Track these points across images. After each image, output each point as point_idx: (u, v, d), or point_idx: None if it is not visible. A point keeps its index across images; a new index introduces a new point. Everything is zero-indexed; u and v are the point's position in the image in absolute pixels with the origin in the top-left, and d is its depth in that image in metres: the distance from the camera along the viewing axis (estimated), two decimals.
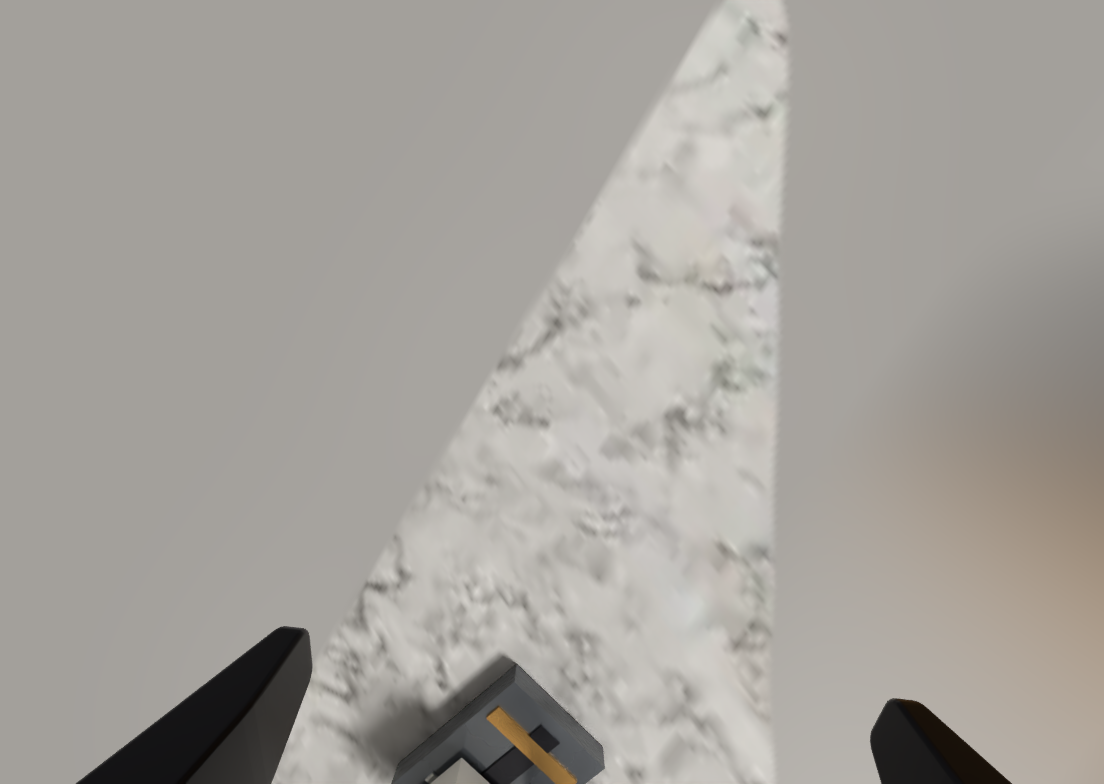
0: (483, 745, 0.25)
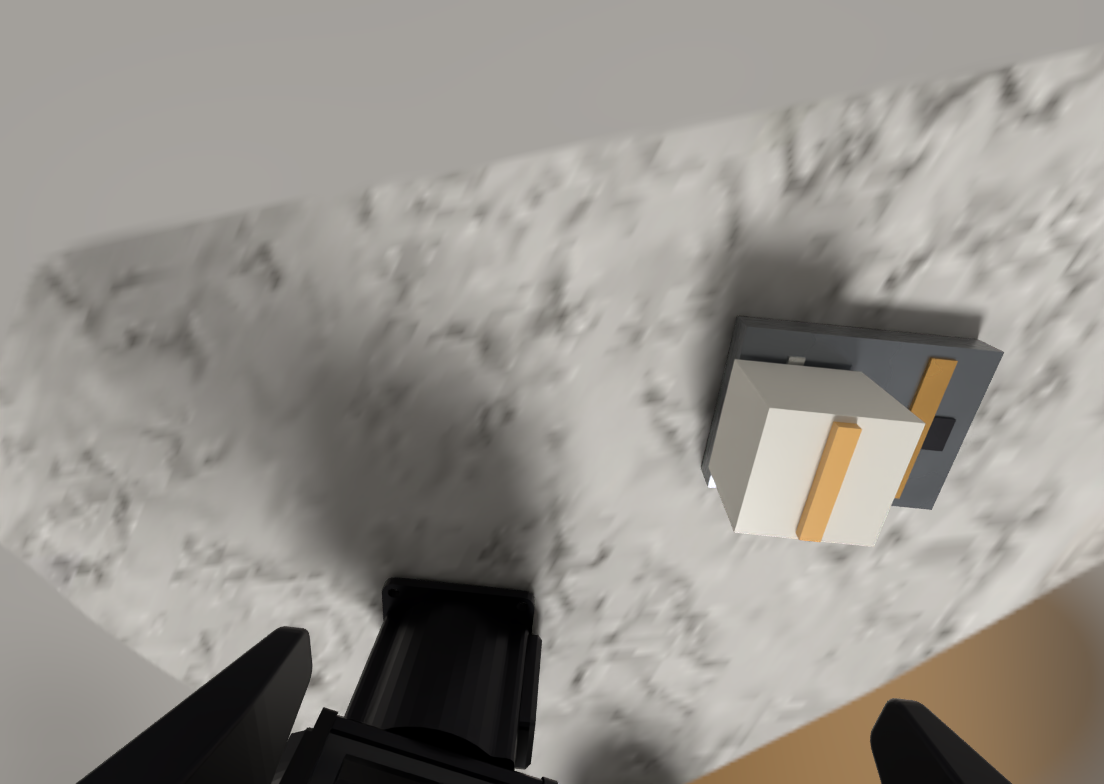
0: (882, 382, 0.18)
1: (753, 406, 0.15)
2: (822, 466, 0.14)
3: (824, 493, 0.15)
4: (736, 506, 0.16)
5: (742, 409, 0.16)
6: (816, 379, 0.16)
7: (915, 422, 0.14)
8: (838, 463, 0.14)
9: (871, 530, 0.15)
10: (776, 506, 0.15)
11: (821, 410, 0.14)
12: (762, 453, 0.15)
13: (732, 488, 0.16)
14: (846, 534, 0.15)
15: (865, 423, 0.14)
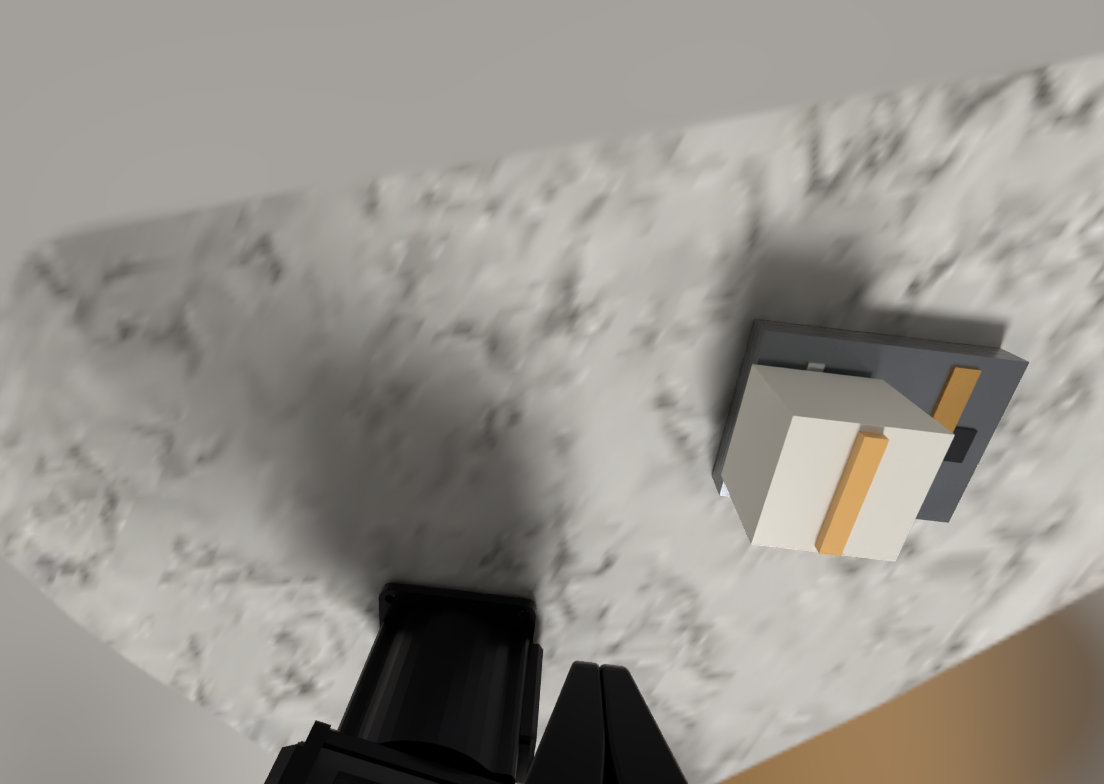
0: (903, 391, 0.17)
1: (773, 414, 0.15)
2: (846, 477, 0.14)
3: (847, 505, 0.14)
4: (753, 517, 0.15)
5: (761, 416, 0.15)
6: (837, 386, 0.16)
7: (944, 433, 0.13)
8: (863, 475, 0.14)
9: (893, 544, 0.15)
10: (796, 518, 0.15)
11: (847, 419, 0.14)
12: (784, 463, 0.14)
13: (749, 498, 0.16)
14: (867, 548, 0.15)
15: (892, 433, 0.13)
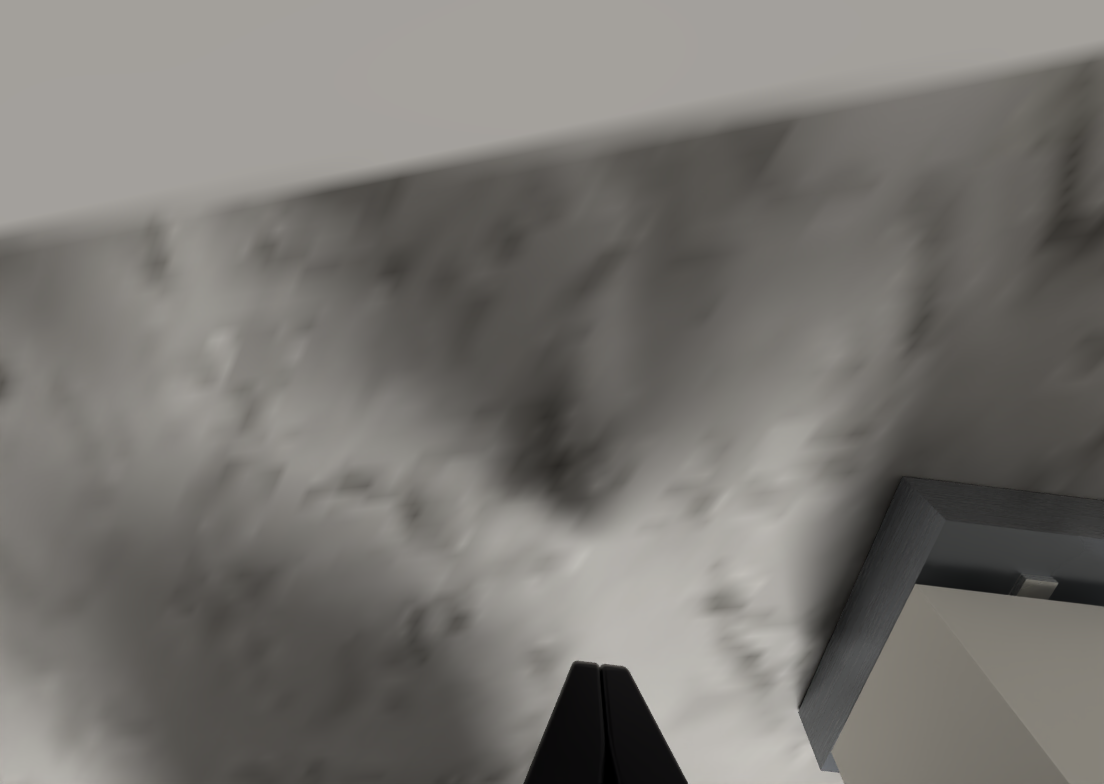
0: None
1: (1018, 770, 0.06)
2: None
3: None
4: None
5: (961, 732, 0.07)
6: None
7: None
8: None
9: None
10: None
11: None
12: None
13: None
14: None
15: None
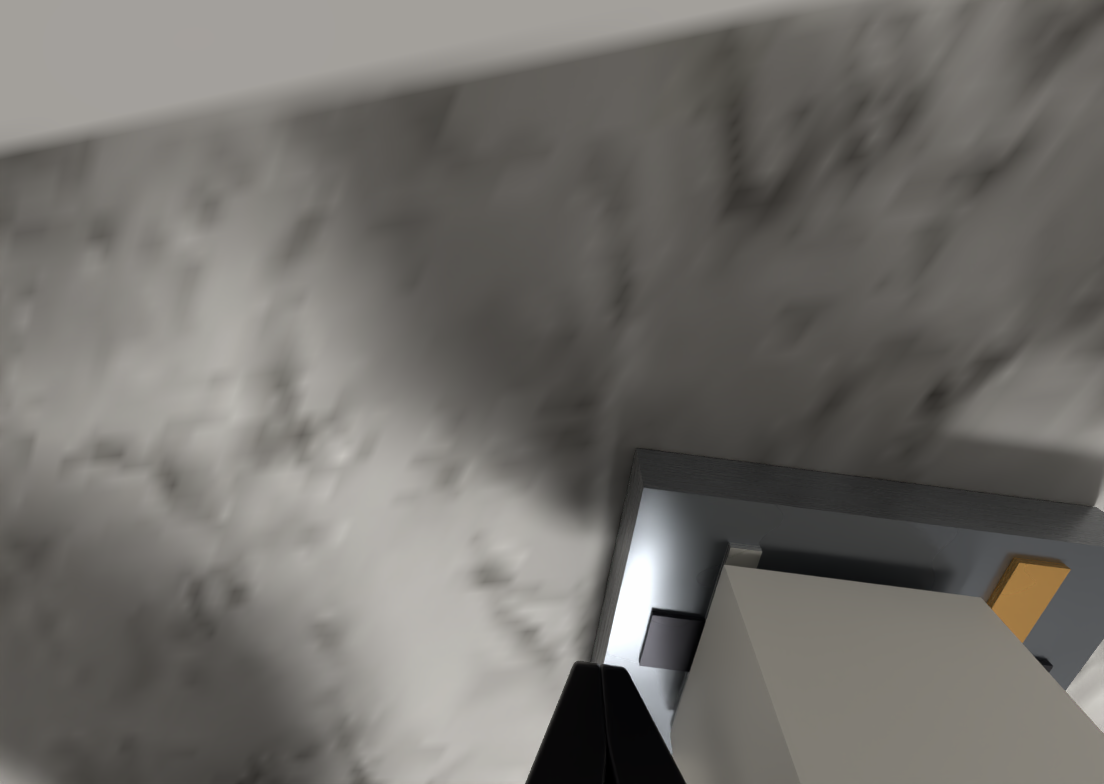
0: None
1: (764, 742, 0.06)
2: None
3: None
4: None
5: (737, 707, 0.07)
6: (900, 639, 0.07)
7: None
8: None
9: None
10: None
11: None
12: None
13: None
14: None
15: None
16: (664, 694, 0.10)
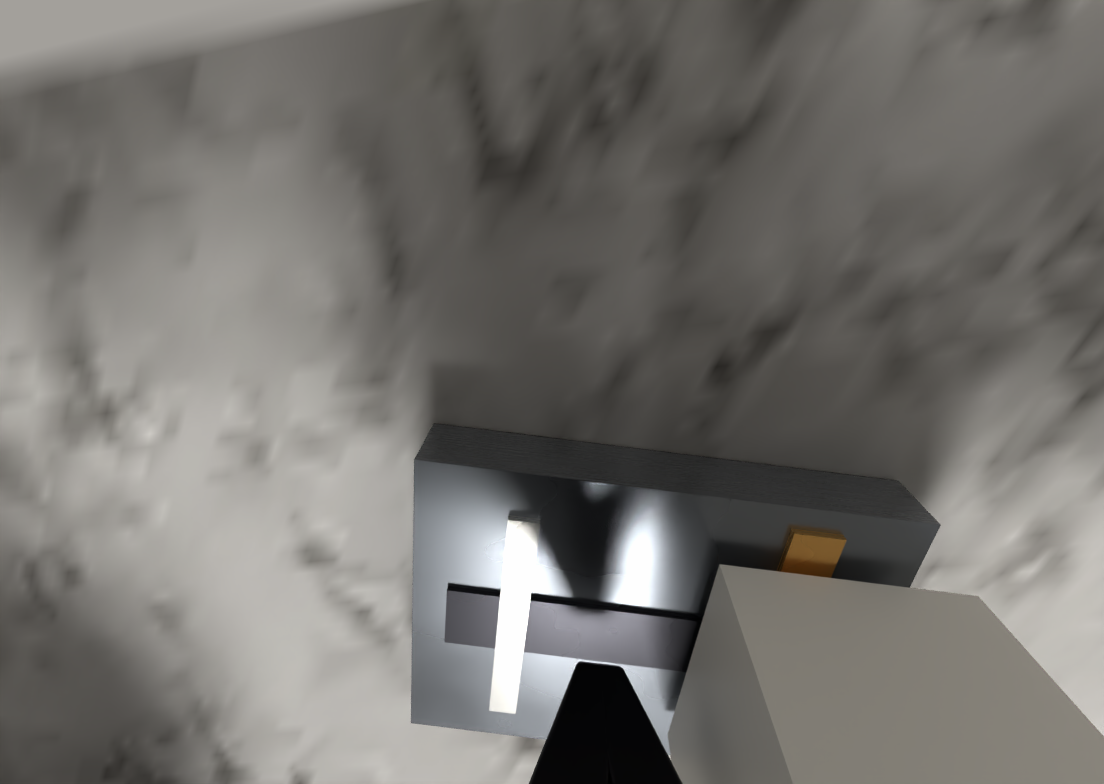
0: (703, 569, 0.09)
1: (759, 741, 0.06)
2: None
3: None
4: None
5: (733, 707, 0.07)
6: (895, 638, 0.07)
7: None
8: None
9: None
10: None
11: None
12: None
13: None
14: None
15: None
16: (477, 671, 0.10)
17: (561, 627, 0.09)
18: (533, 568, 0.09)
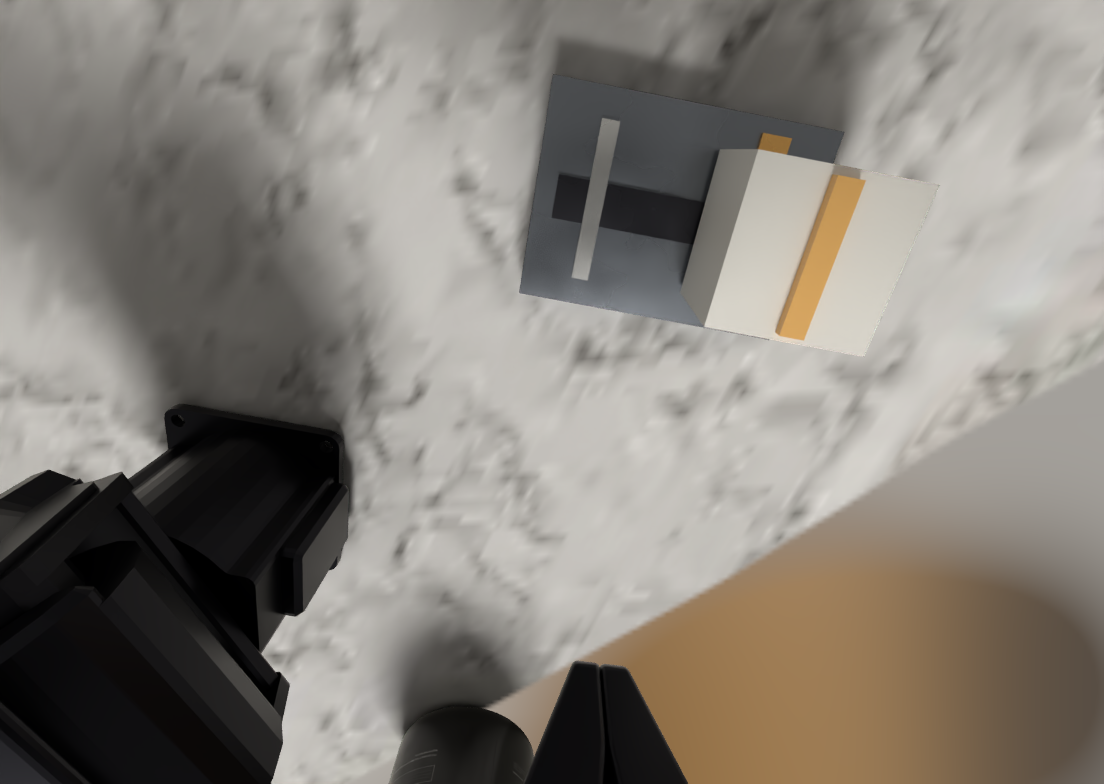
0: (710, 163, 0.15)
1: (738, 171, 0.13)
2: (814, 234, 0.12)
3: (813, 270, 0.12)
4: (709, 297, 0.13)
5: (724, 188, 0.14)
6: None
7: None
8: (834, 228, 0.12)
9: (863, 334, 0.13)
10: (755, 292, 0.13)
11: (818, 161, 0.12)
12: (745, 215, 0.12)
13: (705, 283, 0.14)
14: (833, 338, 0.13)
15: (869, 179, 0.12)
16: (567, 246, 0.16)
17: (623, 206, 0.16)
18: (612, 158, 0.15)
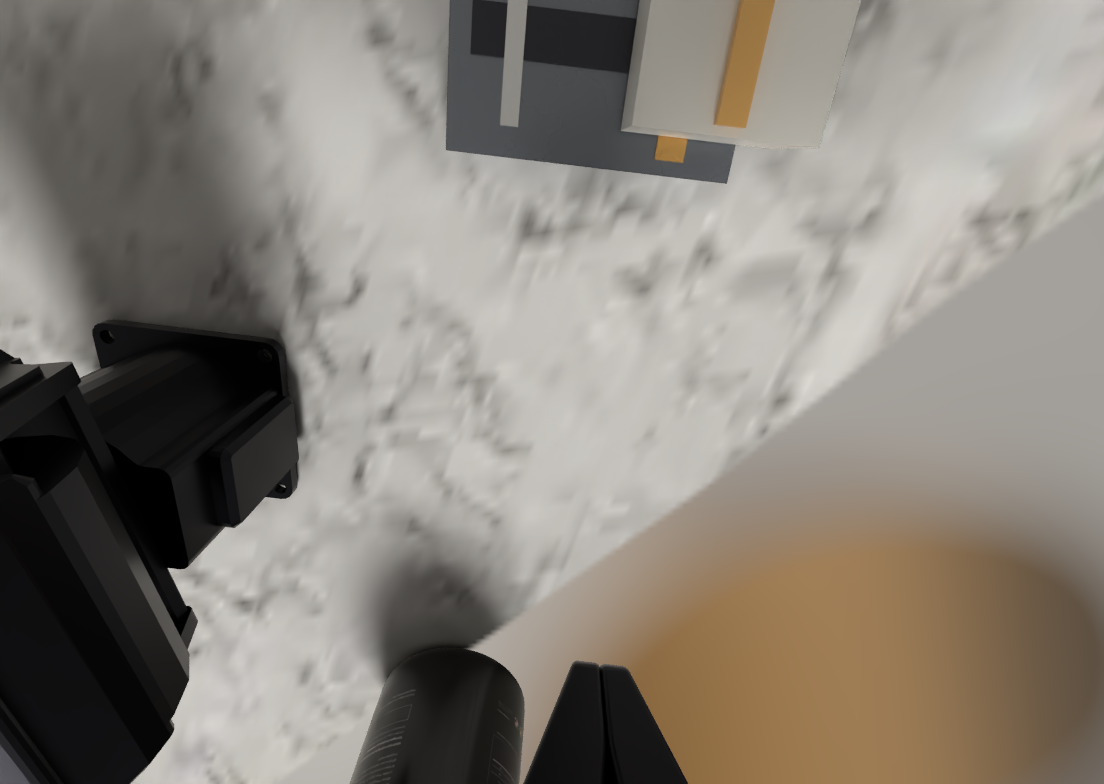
0: None
1: None
2: None
3: (748, 33, 0.11)
4: (635, 92, 0.12)
5: None
6: None
7: None
8: None
9: (815, 118, 0.11)
10: (686, 75, 0.11)
11: None
12: None
13: (634, 84, 0.12)
14: (782, 126, 0.11)
15: None
16: (492, 88, 0.15)
17: (548, 32, 0.14)
18: None
